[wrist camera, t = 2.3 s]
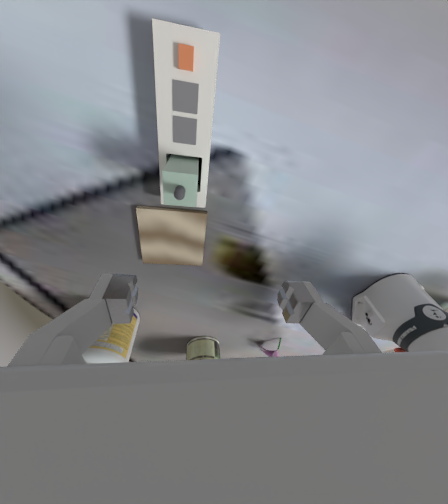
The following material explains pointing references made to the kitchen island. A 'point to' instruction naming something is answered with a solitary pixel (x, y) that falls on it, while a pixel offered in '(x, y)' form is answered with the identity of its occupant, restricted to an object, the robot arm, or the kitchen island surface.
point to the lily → (271, 352)
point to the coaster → (171, 235)
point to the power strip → (185, 94)
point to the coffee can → (203, 348)
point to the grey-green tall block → (180, 181)
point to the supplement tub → (114, 343)
